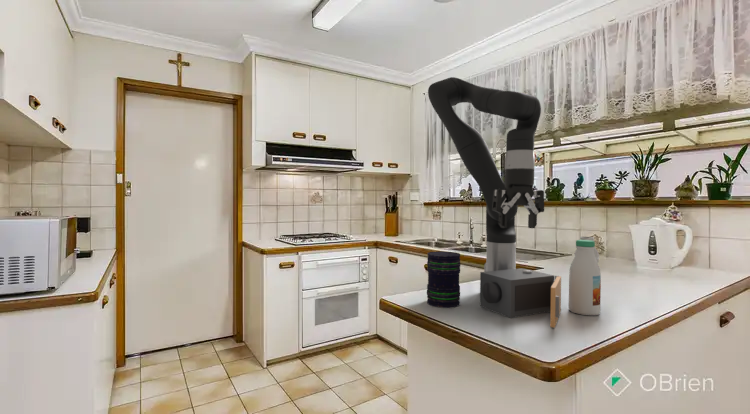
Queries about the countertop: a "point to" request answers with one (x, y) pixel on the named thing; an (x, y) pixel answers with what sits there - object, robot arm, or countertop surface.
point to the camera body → (516, 292)
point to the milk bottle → (585, 280)
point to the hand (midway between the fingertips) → (517, 228)
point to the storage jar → (443, 279)
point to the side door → (555, 301)
